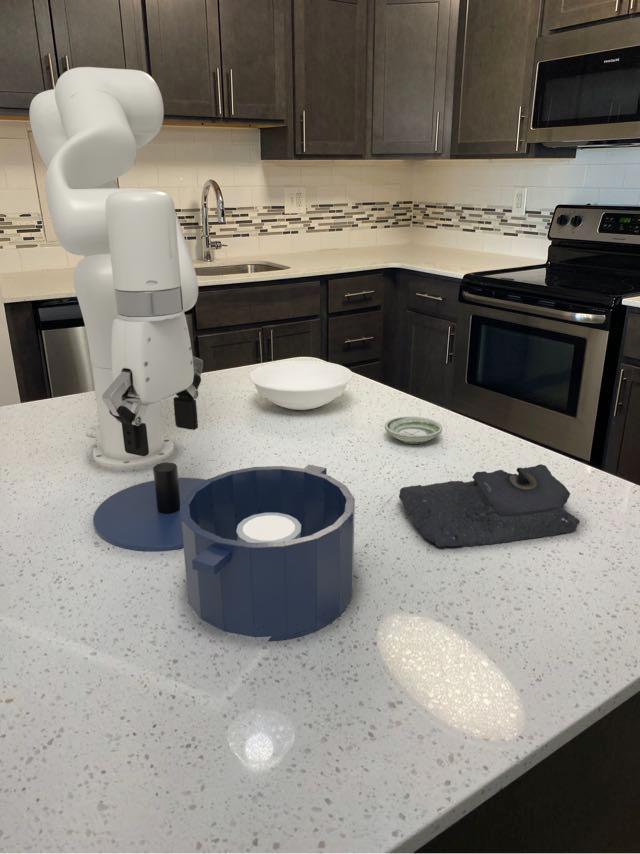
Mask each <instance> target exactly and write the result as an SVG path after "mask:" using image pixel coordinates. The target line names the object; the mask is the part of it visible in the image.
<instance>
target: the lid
mask: <svg viewBox="0 0 640 854" xmlns="http://www.w3.org/2000/svg"><path fill="white" fill-rule="evenodd" d="M152 471H153V473H152V474H153V480H149V481H144V482H141V483H137V484H134V485H132V486H131V485H130V486H128V487H126V488H124V489H121V490H119V491H117V492H116V493H113V494H112V495H110V496H109V497H107V498H106V499H105V500H103V501H102V502H101V503H100V504H99V505H98V507H97V508H96V510H95V512H94V514H93V517H92V523H93V529H94V530H95V533H96V534H97V536H99V537H100V538H101V539H102V540H103V541H105V542H107V543H109V544H110V545H113V546H116V547H118V548H123V549H127V550H133V551H142V552H163V551H173V550H179V549H180V550H181V549H184V546H183V535H182V524H181V512H180V504H181V503H182V501H183V500H184V498H185V496H186V495H187V493H188V492H189V491H190V490H191V489H193V488H194V487H196V486H197V485H199V484H200V483H202V482H203V481H205V480H206V478H198V477H179V474H178V473H179V472H178V465H177V464H176V463H174V462H160V463H156V464H155V465H154V466H153V467H152Z"/></svg>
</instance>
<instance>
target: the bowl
mask: <svg viewBox="0 0 640 854" xmlns="http://www.w3.org/2000/svg"><path fill="white" fill-rule="evenodd" d="M353 377H354V375H353V372H352V370H351V369H349V368H348V367H345V366H343V365H341V364H338V363H333V362H327V361H321V360H305V359H304V360H284V361H277V362H271V363H266V364H264V365H261V366H258V367H255V368H254V369H253V370H252V371H250V373H249V375H248V379H249V380H250V382H252V383H253V385H254V386H255V389H256V391H257V393H258V395H260V396H261V397H263V398H265V399H266V400H268V401H269V402H271V403H273V404H274V405H277V406H278V407H282V408H285V409H287V410H288V409H289V410H295V411H296V410H297V411H306V410H313V409H317V408H320V407H322V406H325V405H327V404H329V403H331V402H332V401H334V400H335V399H337V398H338V397H339V396H342V395H343V394H344V393H345V390H346V388H347V385H348V383H350V382H351V381H352V379H353Z"/></svg>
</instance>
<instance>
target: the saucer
mask: <svg viewBox="0 0 640 854" xmlns="http://www.w3.org/2000/svg"><path fill="white" fill-rule="evenodd" d="M384 430H385V431H386V432H387V433H388V434H390V435H391V436H392V437H394V438H395V439H396V440H399V441H400V442H402V443H405V444H410V445H420V444H424V443H426V442H427V441H430V440H433V439H435V438H436V437H437V436H438V435H440V434H441V433H442V431H443V425H442V424H441V423H440V422H438V421H437V420H434V419H431V418H427V417H422V416H412V415H411V416H410V415H409V416H408V415H407V416H398V417H394V418H392V419H389V420H387V421H386V422H385V423H384Z"/></svg>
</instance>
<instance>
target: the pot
mask: <svg viewBox="0 0 640 854" xmlns="http://www.w3.org/2000/svg"><path fill="white" fill-rule="evenodd" d="M327 469H328V468H327V467H323V466H319V465H314V464H313V465H312V464H307V465H306V466H305V467H304V468H303V467H293V466H285V465H271V466H269V465H268V466H267V465H266V466H251V467H247V468H239V469H235V470H229V471H226V472H224V473H222V474H218V475H216V476H212V477H210V478H207V479H205V481H203V482H202V483H200V484H199V485H197V486H196V487H194V488H193V489H191V490H190V491H189V492H188V493H187V495H186V496H185V498H184V500H183V501H182V503H181V504H180V512H181V524H182V535H183V546H184V548H183V556H184V568H185V569H184V570H185V579H186V589H187V598H188V600H187V601H188V605H189V606H190V607H191V608H192V610H193V611H194V612H195V613H196V615H197V616H198V617H199V619H200V620H201V621H203V622H205V623H207V624H209V625H210V626H212V627H215V628H217V629H219V630H221V631H222V632H224V633H230V634H235V635H241V636H246V637H251V638H268V637H269V639H268V640H267V642H275V641H285V640H291V639H296V638H299V637H302V636H306V635H309V634H311V633H314V632H317V631H319V630H321V629H322V628H324V627H325V628H326V626H328V625H330V624H331V623H333V622H334V621H335V620H336V619H337V618H339V617H340V616H341V615H342V614H343V612H344V611H346V609H347V607H348V606H349V604H350V602H351V599H352V596H353V590H354V589H353V587H354V566H355V563H354V562H355V561H354V560H355V513H356V512H355V511H356V509H355V508H356V507H355V506H356V499H355V497H354V496H353V494H352V493H351V491H350V489H349V488H348V486H347V485H345V484H344V483H342V482H340V481H339V480H337V479H336V478H334V477H332V476H331V475H328V474H327V473H328V472H327V471H328V470H327ZM261 513H282V514H286V515H290V516H292V517H294V518H296V519H297V520H298V521H299V523H300V524H301V534H300V538H297V539H293V540H288V541H284V542H260V543H250V542H243V541H238V539H237V533H236V530H237V526H238V524H239V523H240V522H241V521H243V520H244V519H245V518H248V517H250V516H252V515H256V514H261Z"/></svg>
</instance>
